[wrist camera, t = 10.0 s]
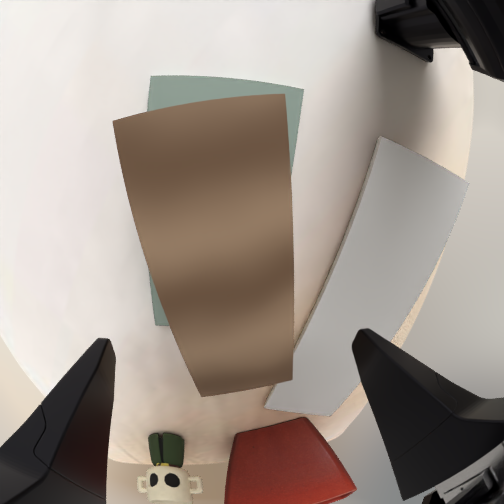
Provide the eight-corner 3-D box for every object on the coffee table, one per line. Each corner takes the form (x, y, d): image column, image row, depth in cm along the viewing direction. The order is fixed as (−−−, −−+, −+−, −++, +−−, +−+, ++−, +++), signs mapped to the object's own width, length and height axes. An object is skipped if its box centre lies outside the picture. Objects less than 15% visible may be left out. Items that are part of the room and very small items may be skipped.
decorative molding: (265, 381, 37) (327, 391, 37) (263, 408, 32) (330, 416, 33) (363, 134, 22) (443, 172, 22) (382, 136, 18) (469, 183, 18)
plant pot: (237, 457, 47) (251, 522, 32) (208, 430, 37) (222, 521, 22) (322, 435, 48) (346, 497, 33) (322, 401, 38) (358, 488, 23)
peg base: (298, 90, 16) (329, 85, 12) (262, 317, 26) (274, 356, 22) (153, 77, 14) (137, 66, 10) (156, 317, 24) (151, 359, 19)
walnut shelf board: (276, 333, 20) (292, 379, 16) (197, 347, 19) (201, 396, 16) (258, 99, 12) (285, 93, 8) (139, 117, 11) (112, 121, 8)
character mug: (191, 427, 36) (199, 500, 24) (201, 441, 39) (210, 504, 28) (129, 429, 34) (128, 497, 23) (145, 444, 38) (146, 504, 27)
